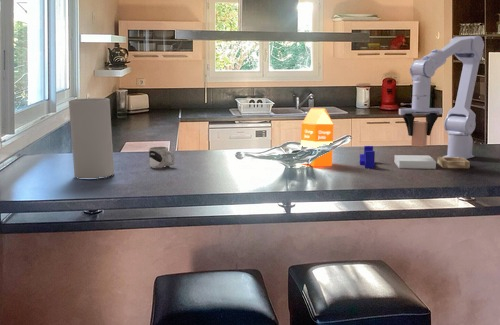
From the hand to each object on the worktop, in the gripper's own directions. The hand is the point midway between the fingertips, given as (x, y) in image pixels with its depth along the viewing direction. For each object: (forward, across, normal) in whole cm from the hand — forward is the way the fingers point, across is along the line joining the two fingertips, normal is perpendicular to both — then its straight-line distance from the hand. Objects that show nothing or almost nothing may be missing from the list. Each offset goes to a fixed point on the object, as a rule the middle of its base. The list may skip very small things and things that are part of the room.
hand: (419, 135), depth 185 cm
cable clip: (+11, +17, -3) cm, 21 cm away
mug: (+11, +88, -10) cm, 90 cm away
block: (+3, 0, 0) cm, 3 cm away
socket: (+10, -12, +2) cm, 16 cm away
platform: (+10, +1, 0) cm, 11 cm away
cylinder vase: (+11, +110, +2) cm, 110 cm away
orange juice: (+11, +35, -6) cm, 37 cm away
